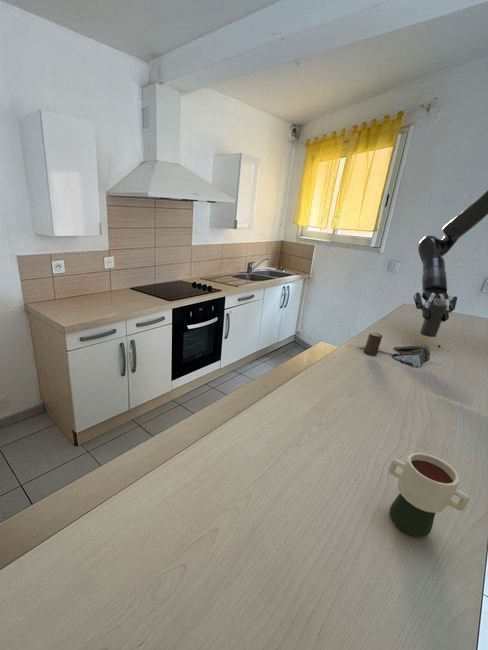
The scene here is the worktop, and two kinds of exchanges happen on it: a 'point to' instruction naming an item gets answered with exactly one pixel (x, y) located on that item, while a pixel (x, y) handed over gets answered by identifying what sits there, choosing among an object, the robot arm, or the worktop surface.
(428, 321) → the pepper mill
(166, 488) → the worktop surface
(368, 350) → the cylinder
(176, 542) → the worktop surface
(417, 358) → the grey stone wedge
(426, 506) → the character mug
